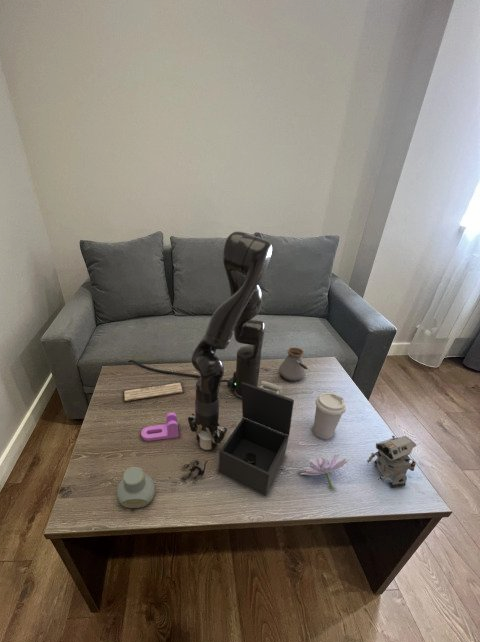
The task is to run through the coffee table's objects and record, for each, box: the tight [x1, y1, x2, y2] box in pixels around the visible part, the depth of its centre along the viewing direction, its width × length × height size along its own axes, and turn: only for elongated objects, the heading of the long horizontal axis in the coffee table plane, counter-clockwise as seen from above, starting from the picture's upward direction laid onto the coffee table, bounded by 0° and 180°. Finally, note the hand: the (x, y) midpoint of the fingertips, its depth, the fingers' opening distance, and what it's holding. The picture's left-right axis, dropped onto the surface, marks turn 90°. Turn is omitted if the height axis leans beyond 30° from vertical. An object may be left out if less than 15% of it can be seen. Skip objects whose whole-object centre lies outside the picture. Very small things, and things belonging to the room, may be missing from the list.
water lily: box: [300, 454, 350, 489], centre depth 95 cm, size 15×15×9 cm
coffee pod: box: [199, 430, 215, 451], centre depth 107 cm, size 6×6×5 cm
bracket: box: [140, 411, 180, 442], centre depth 112 cm, size 13×6×7 cm, turn 98°
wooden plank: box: [123, 382, 184, 402], centre depth 133 cm, size 24×7×2 cm, turn 102°
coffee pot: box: [278, 347, 310, 382], centre depth 132 cm, size 21×12×15 cm, turn 179°
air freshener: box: [116, 466, 156, 509], centre depth 91 cm, size 11×8×10 cm
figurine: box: [366, 435, 417, 489], centre depth 93 cm, size 9×12×15 cm
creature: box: [182, 460, 208, 481], centre depth 98 cm, size 8×5×8 cm
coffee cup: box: [312, 391, 347, 440], centre depth 109 cm, size 10×10×15 cm
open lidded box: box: [218, 417, 290, 497], centre depth 99 cm, size 17×16×10 cm
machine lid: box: [241, 380, 295, 437], centre depth 98 cm, size 17×16×5 cm
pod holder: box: [244, 453, 257, 466], centre depth 98 cm, size 4×4×5 cm
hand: (206, 444), depth 108 cm, fingers closed on coffee pod, 4 cm apart
